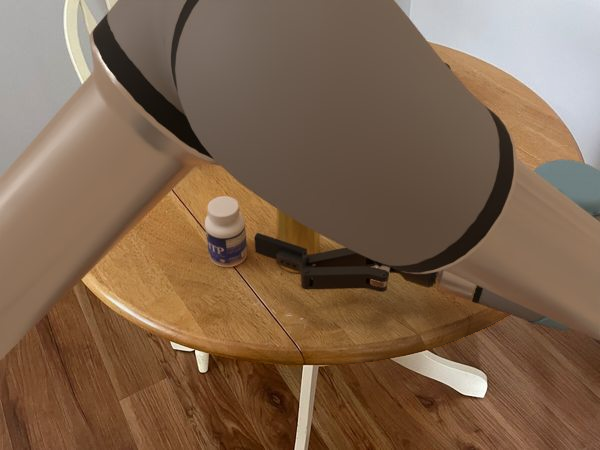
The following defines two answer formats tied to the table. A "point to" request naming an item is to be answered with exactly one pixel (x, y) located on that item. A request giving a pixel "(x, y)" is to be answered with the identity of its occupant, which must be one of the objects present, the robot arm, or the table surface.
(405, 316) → the table surface
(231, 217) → the pill bottle
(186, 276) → the table surface
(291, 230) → the vase
